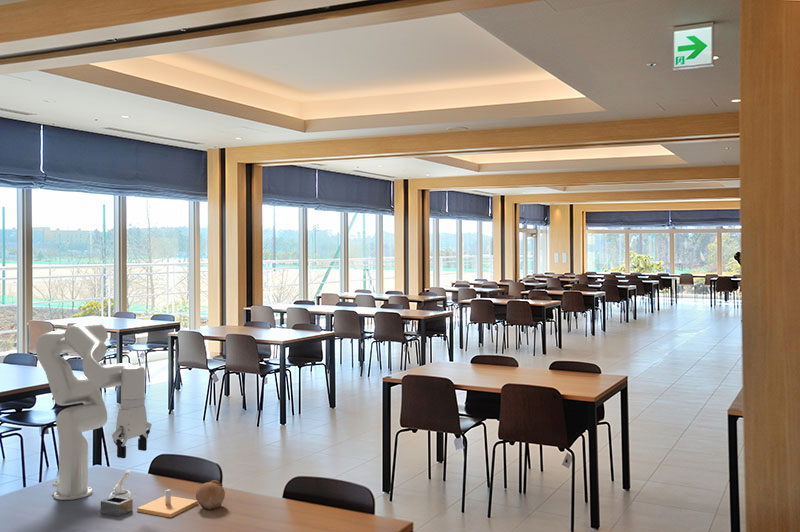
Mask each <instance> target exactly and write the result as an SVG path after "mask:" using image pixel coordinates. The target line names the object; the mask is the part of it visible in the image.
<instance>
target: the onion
mask: <svg viewBox="0 0 800 532" xmlns="http://www.w3.org/2000/svg"><path fill="white" fill-rule="evenodd" d="M225 495H226V491H225V489H224V484H222V482H220V481H219V480H216V479H213V480H209V481H208V482H204V483H201V485H199V487H198V488H197V490H196V495H195V500H197V501H198V505H199V506H200V508H203V509H204V510H213V509H214V510H216V509H217V508H218V507H221V506H222V503H223V502H224V500H225Z"/></svg>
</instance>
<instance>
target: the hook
mask: <svg viewBox="0 0 800 532" xmlns="http://www.w3.org/2000/svg"><path fill="white" fill-rule="evenodd" d="M130 474H131V470H130V469H127V470H125V473H123V475H122V476H121V478H120V479H119V481H118V482H117V483H116V485H115V486H114V487H113V491H112V492H110V493H109V496H108V498H110V497H112V496H119V497H125V498H130V499H131V498H132V496H133V495H132V493H131V491H130V490H128V489H124V486H123V485H124V483H125V482H126V480H127V478H128V477H129V476H130Z"/></svg>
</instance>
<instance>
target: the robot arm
mask: <svg viewBox="0 0 800 532" xmlns="http://www.w3.org/2000/svg"><path fill="white" fill-rule="evenodd" d="M107 339H108V331H107V329H106V328H105V326H104V325H103V324H102V323H100V322H99V323H98V322H88V323H87V322H86V323H76V324H72V325H70V326H68V327H67V328H66V329H65V330H63V329H62V330H54V331H48V332H45V333H43V334H41V335H40V336H39V337H38V338H37V340H36V344H35V353H36V356H37V360H38V362H39V363H40V365H41V367H42V368H43V370H44V373H45V375H46V379H47V381H48V385H49V388H50V392H51V395H52V397H53V400H54V403H56V404H57V406H70V405H75V406H70V407H66V408H64V409H62V410H60V411H59V413H58V414H57V415H56V418H55V424H56V430H57V435H58V479H56V480H55V482H53V483H52V487H53V488H56V491H55V492H53V497H54V499H56V500H60V501H72V500H78V499H84V498H86V497H88V496H90V495H92V493H93V488H92V487H91V486H88V485H89V443H88V441H87V439H86V437H85V436H84V434H83V433H85V432H88V431H94V430H96V429H101V428H103V427H104V426H105V425H106V424H107V421H108V412H107V407H106V405H105V401H104V398H103V395H102V392H101V389H108V388H113V387H120V408H118V411H117V412H118V413H117V416H116V425H115V427H116V429H115V431H114V432H113V433H112V434H111V437H112V440H113V443H114V444H115V446H116V457H117V458H119V459H126V458H127V445H126V444H127V441H128V440H132V439H134V438H137V437H138V438H137V449H138V450H137V451H141V452H142V451H143V452H145V451H147V450H148V449H147V445H148V444H147V443H148V442H147V441H148V438H149V435H150V433H151V428H152V423H151V422H148V419H147V418H148V416H147V410H146V409H147V408H146V405H145V404H146V403H145V402H146V401H145V400H146V398H145V397H146V396H145V395H146V394H145V393H146V384H145V383H146V371H145V370H146V369H145V367H144V366H141V365H134V364H132V363H129V362H121V363H114V364H105V365H102V364H100V363H99V362H100V361H101V360H102V359H104V357H105V356H106V354H107V349H108V348H107V345H106V344H105V343H106V340H107ZM71 353H76V354H77V355H78V356H80V358H82V363H81V365H82V371H83V374H84V376H77V377H76V376H75V375H74V373H73V370H72V366H71V365H70V363H69V362H68V361H67V360H66V358H63V357H62V356H61V354H71ZM81 403H82V404H81ZM77 404H80V405H77Z"/></svg>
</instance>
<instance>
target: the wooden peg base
mask: <svg viewBox="0 0 800 532" xmlns="http://www.w3.org/2000/svg"><path fill="white" fill-rule="evenodd" d="M164 493H165V494H164V496H161V497H159V498H156V499H154V500H152V501H149V502H148V503H146V504H143V505H140V506H138V507H137V508H136V510H137V511H136V512H138V513H144V514H148V515H155V516H160V517H165V518H173V517H174V516H177V515H179V514H181V513H182V512H185V511H186V510H189V509H191V508H193V507H195V506H197V505H199V503H198V501H197V500H196V499H190V498H186V497H185V498H184V497H178V496H172V489H165V492H164Z"/></svg>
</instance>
